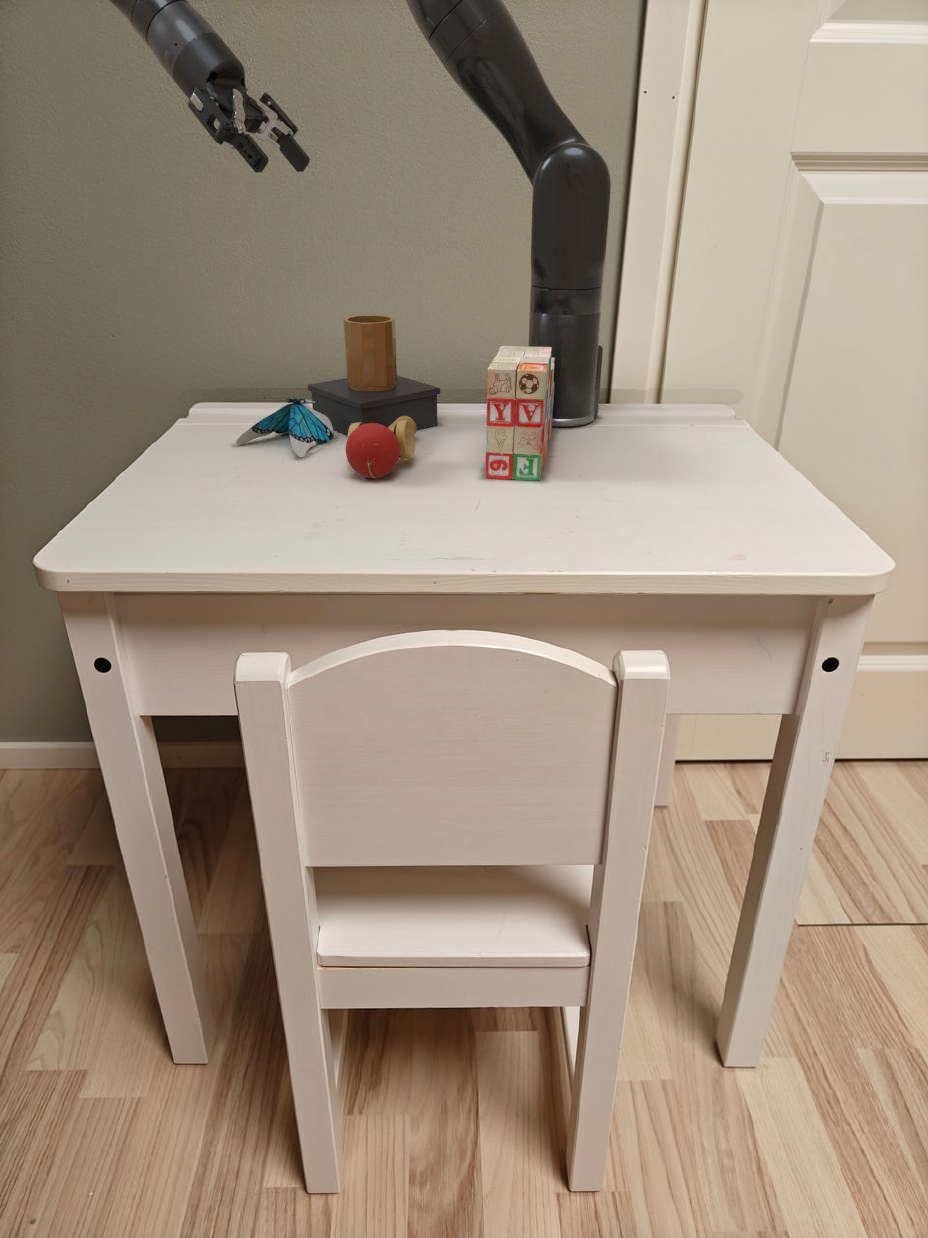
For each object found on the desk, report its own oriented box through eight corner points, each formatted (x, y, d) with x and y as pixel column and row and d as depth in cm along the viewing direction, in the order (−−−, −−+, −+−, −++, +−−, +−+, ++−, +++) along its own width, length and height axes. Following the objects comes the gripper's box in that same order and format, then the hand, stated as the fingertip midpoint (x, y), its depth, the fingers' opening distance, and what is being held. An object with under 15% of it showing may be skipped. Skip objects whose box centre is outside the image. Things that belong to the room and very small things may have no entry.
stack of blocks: (505, 426, 115) (508, 330, 109) (552, 428, 114) (558, 332, 108) (484, 478, 96) (486, 366, 91) (540, 481, 96) (546, 368, 90)
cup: (378, 378, 118) (375, 313, 114) (406, 387, 113) (404, 319, 109) (338, 385, 114) (334, 318, 110) (366, 394, 110) (362, 325, 106)
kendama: (369, 447, 111) (326, 472, 94) (378, 398, 108) (334, 415, 92) (427, 461, 110) (394, 489, 93) (437, 412, 108) (404, 432, 91)
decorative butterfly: (352, 405, 109) (301, 401, 100) (348, 456, 111) (296, 457, 102) (291, 394, 113) (236, 390, 105) (287, 444, 115) (233, 444, 107)
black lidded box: (386, 406, 124) (385, 371, 122) (440, 425, 115) (440, 387, 113) (310, 421, 117) (307, 384, 114) (362, 442, 108) (360, 403, 106)
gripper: (168, 22, 95) (265, 140, 96) (248, 36, 106) (334, 142, 108) (140, 80, 100) (232, 192, 101) (219, 88, 111) (302, 189, 112)
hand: (285, 166), depth 104 cm, fingers open, 8 cm apart
